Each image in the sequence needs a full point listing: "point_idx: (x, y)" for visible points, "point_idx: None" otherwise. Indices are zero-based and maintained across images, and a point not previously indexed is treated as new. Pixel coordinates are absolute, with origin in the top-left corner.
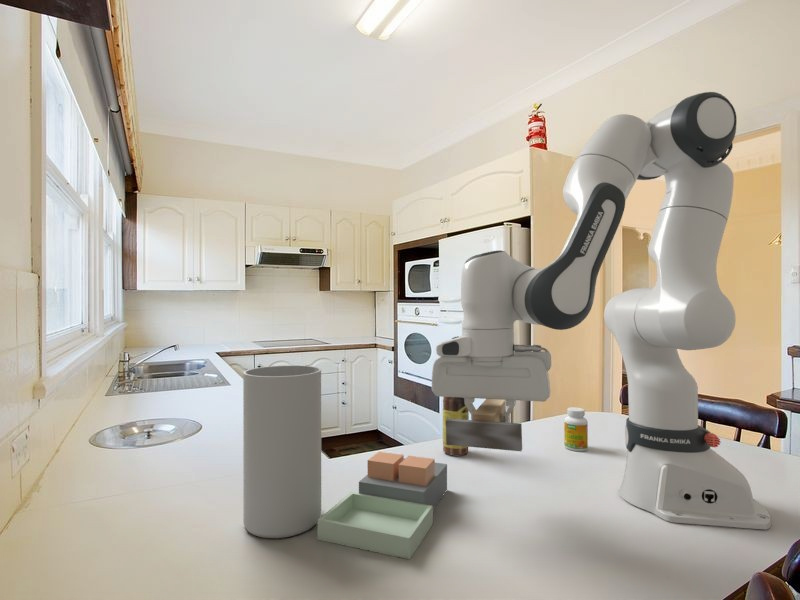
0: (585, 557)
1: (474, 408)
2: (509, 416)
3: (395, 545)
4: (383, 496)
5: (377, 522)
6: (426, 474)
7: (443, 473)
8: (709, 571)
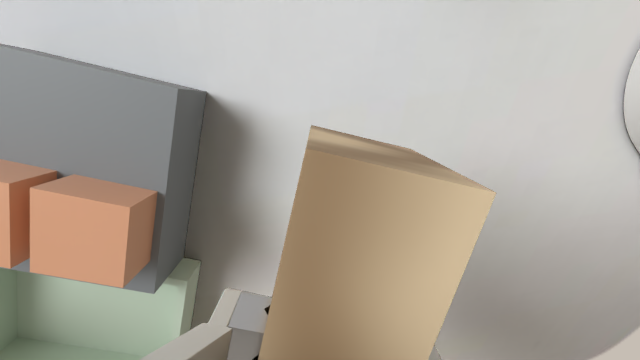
0: (445, 318)
1: (209, 357)
2: (436, 356)
3: None
4: None
5: (94, 284)
6: (134, 271)
7: (179, 128)
8: (601, 324)
